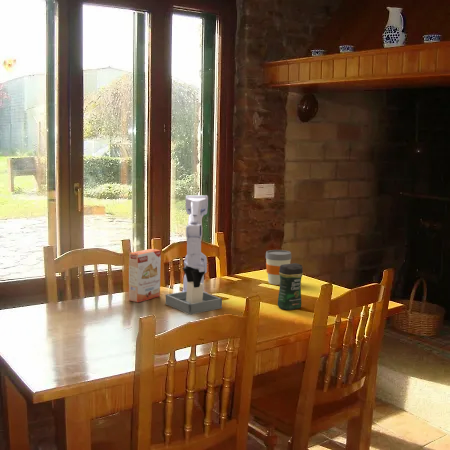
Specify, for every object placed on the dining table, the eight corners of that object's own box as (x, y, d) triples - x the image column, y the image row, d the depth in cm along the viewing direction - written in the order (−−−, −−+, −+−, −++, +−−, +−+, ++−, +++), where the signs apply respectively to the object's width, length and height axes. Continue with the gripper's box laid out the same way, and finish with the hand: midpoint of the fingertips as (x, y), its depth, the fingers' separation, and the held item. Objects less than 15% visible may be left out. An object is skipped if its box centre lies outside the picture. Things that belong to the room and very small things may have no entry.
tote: (165, 303, 252) (165, 294, 251) (196, 298, 261) (197, 289, 261) (189, 314, 237) (189, 304, 237) (221, 308, 247) (222, 298, 246)
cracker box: (138, 303, 252) (138, 254, 249) (128, 300, 256) (127, 252, 252) (161, 296, 263) (161, 249, 260) (151, 294, 267) (151, 247, 264)
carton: (185, 300, 250) (187, 281, 249) (196, 300, 253) (198, 281, 252) (191, 303, 246) (192, 284, 245) (202, 303, 248) (203, 284, 248)
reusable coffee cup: (295, 281, 294) (296, 251, 292) (283, 287, 284) (284, 255, 281) (272, 278, 301) (273, 248, 299) (260, 283, 290) (260, 252, 288)
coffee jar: (285, 311, 244) (287, 266, 241) (274, 306, 251) (275, 263, 248) (304, 308, 249) (306, 264, 246) (293, 303, 256) (294, 261, 253)
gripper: (211, 255, 242) (210, 288, 244) (194, 249, 254) (194, 280, 256) (195, 257, 238) (195, 290, 240) (179, 250, 251) (179, 282, 253)
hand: (193, 285), depth 248 cm, fingers closed on carton, 5 cm apart
